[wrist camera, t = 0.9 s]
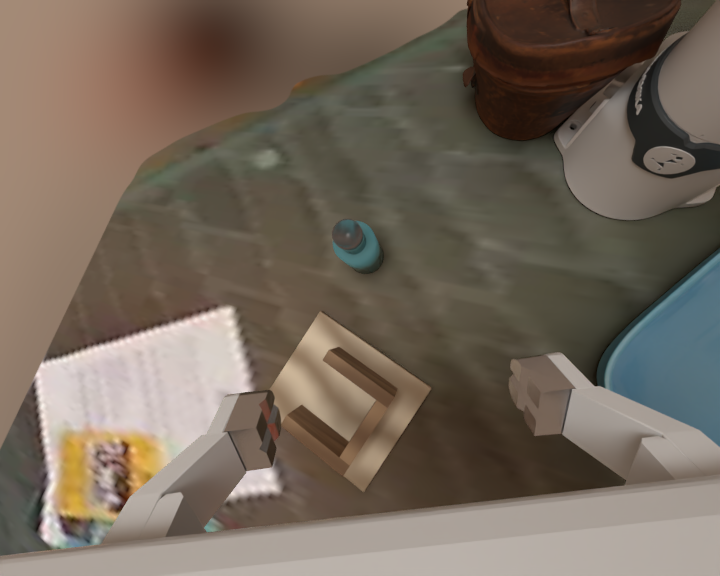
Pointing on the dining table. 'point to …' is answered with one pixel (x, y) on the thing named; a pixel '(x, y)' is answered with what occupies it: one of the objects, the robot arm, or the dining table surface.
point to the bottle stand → (346, 399)
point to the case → (554, 55)
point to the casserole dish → (673, 353)
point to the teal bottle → (357, 246)
